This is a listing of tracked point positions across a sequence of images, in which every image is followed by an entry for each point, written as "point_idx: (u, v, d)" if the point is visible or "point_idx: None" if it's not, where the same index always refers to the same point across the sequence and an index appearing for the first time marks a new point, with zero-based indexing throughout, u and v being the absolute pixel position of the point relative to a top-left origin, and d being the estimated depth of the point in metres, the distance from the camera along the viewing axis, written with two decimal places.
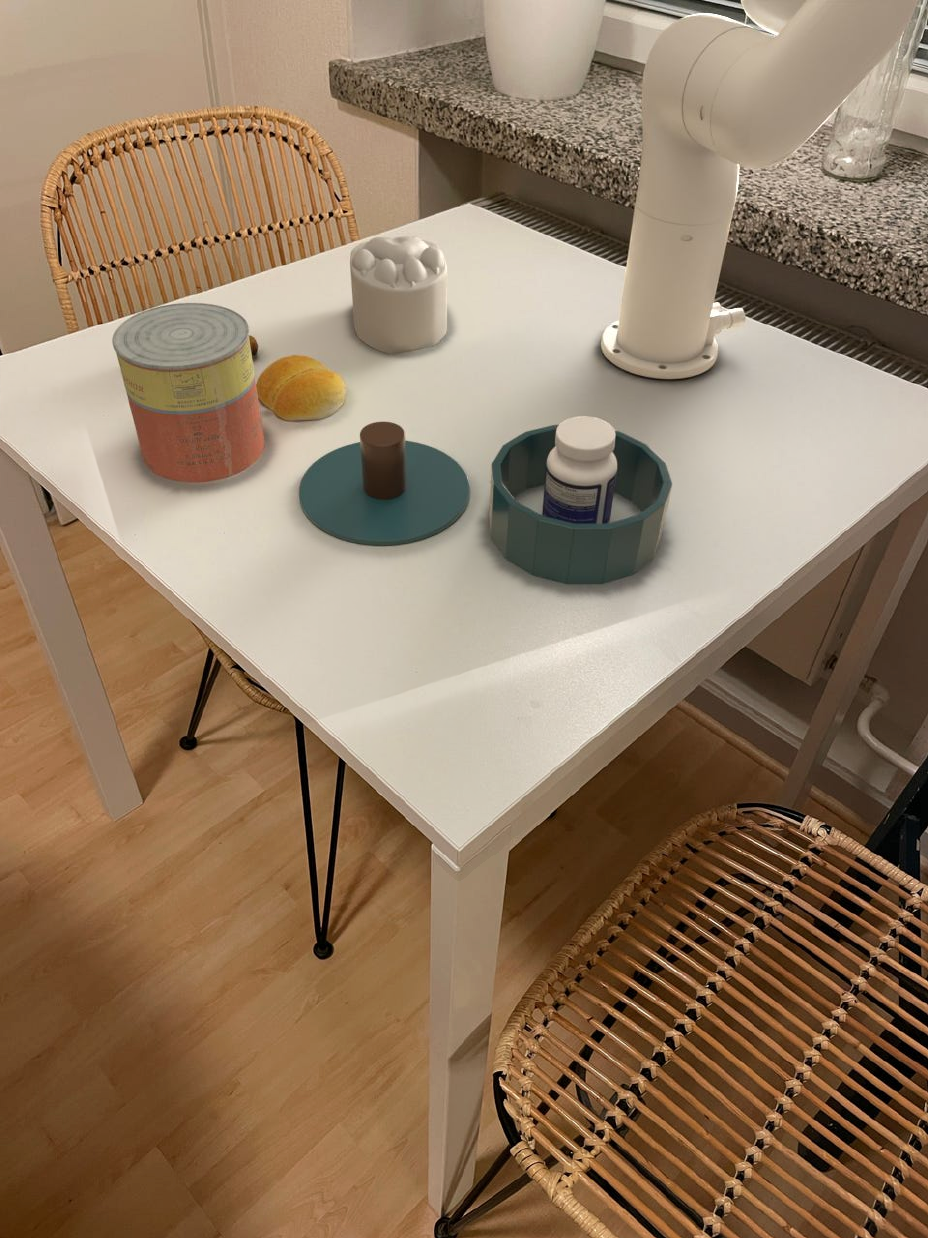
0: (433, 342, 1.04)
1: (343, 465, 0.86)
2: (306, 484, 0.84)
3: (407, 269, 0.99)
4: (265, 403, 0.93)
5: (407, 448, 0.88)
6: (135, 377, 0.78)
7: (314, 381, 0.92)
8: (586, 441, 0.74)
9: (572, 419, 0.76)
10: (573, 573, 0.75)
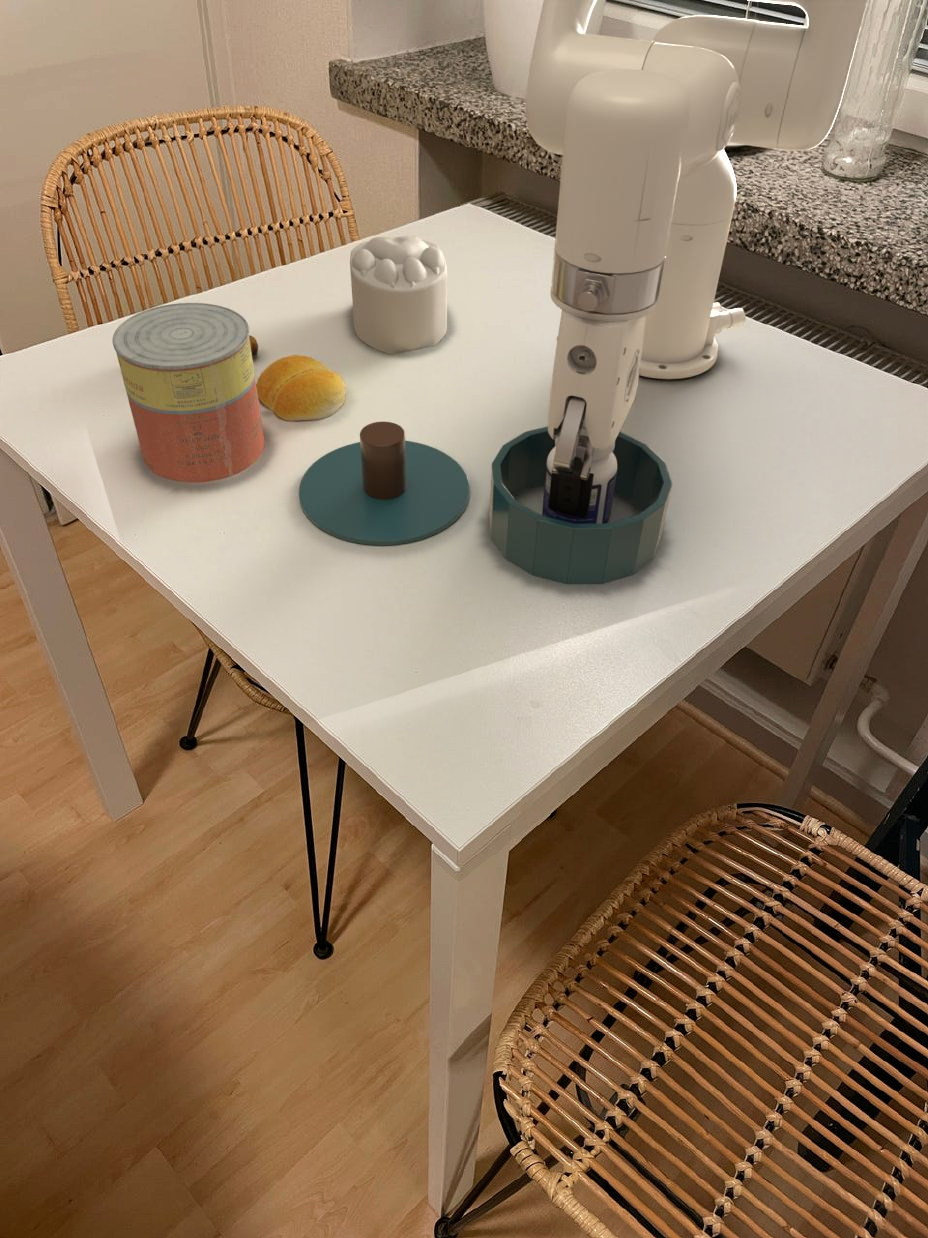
0: (433, 342, 1.04)
1: (343, 465, 0.86)
2: (306, 484, 0.84)
3: (407, 269, 0.99)
4: (265, 403, 0.93)
5: (407, 448, 0.88)
6: (135, 377, 0.78)
7: (314, 381, 0.92)
8: None
9: None
10: (573, 573, 0.75)
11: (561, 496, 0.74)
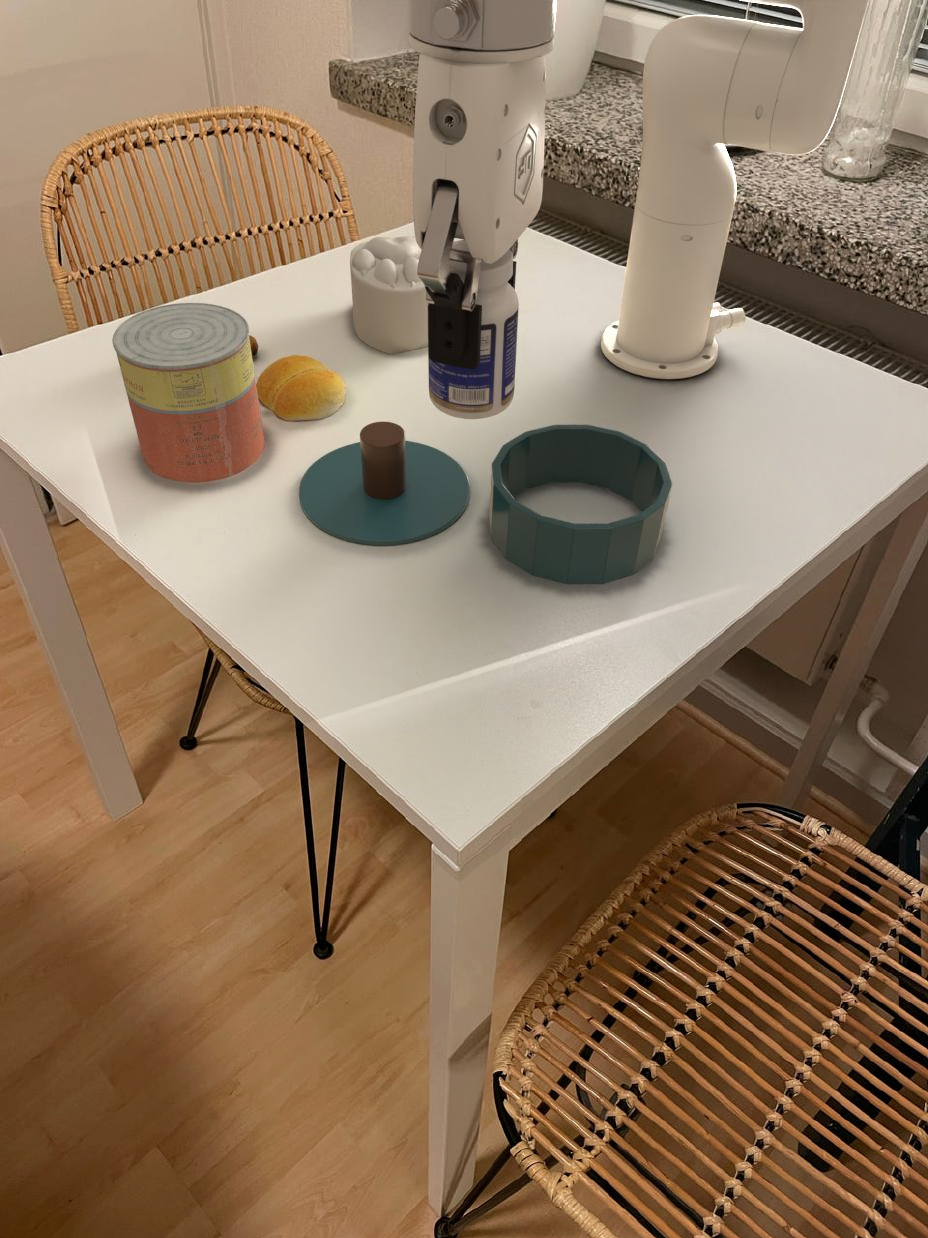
0: None
1: (343, 465, 0.86)
2: (306, 484, 0.84)
3: (407, 269, 0.99)
4: (265, 403, 0.93)
5: (407, 448, 0.88)
6: (135, 377, 0.78)
7: (314, 381, 0.92)
8: None
9: (459, 242, 0.58)
10: (573, 573, 0.75)
11: (442, 337, 0.57)
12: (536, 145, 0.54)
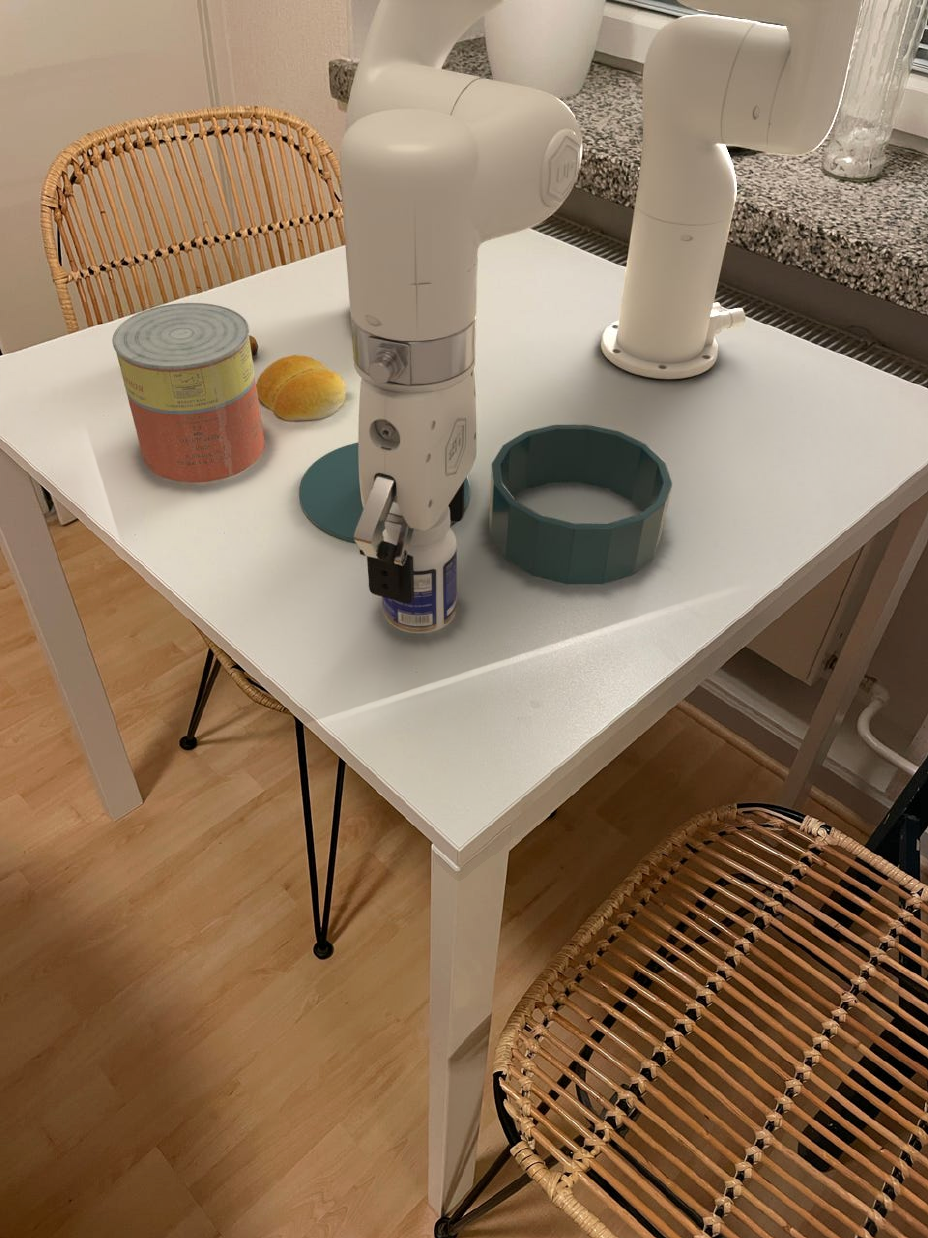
0: None
1: (343, 465, 0.86)
2: (306, 484, 0.84)
3: None
4: (265, 403, 0.93)
5: None
6: (135, 377, 0.78)
7: (314, 381, 0.92)
8: None
9: None
10: (573, 573, 0.75)
11: (379, 581, 0.65)
12: (466, 425, 0.63)
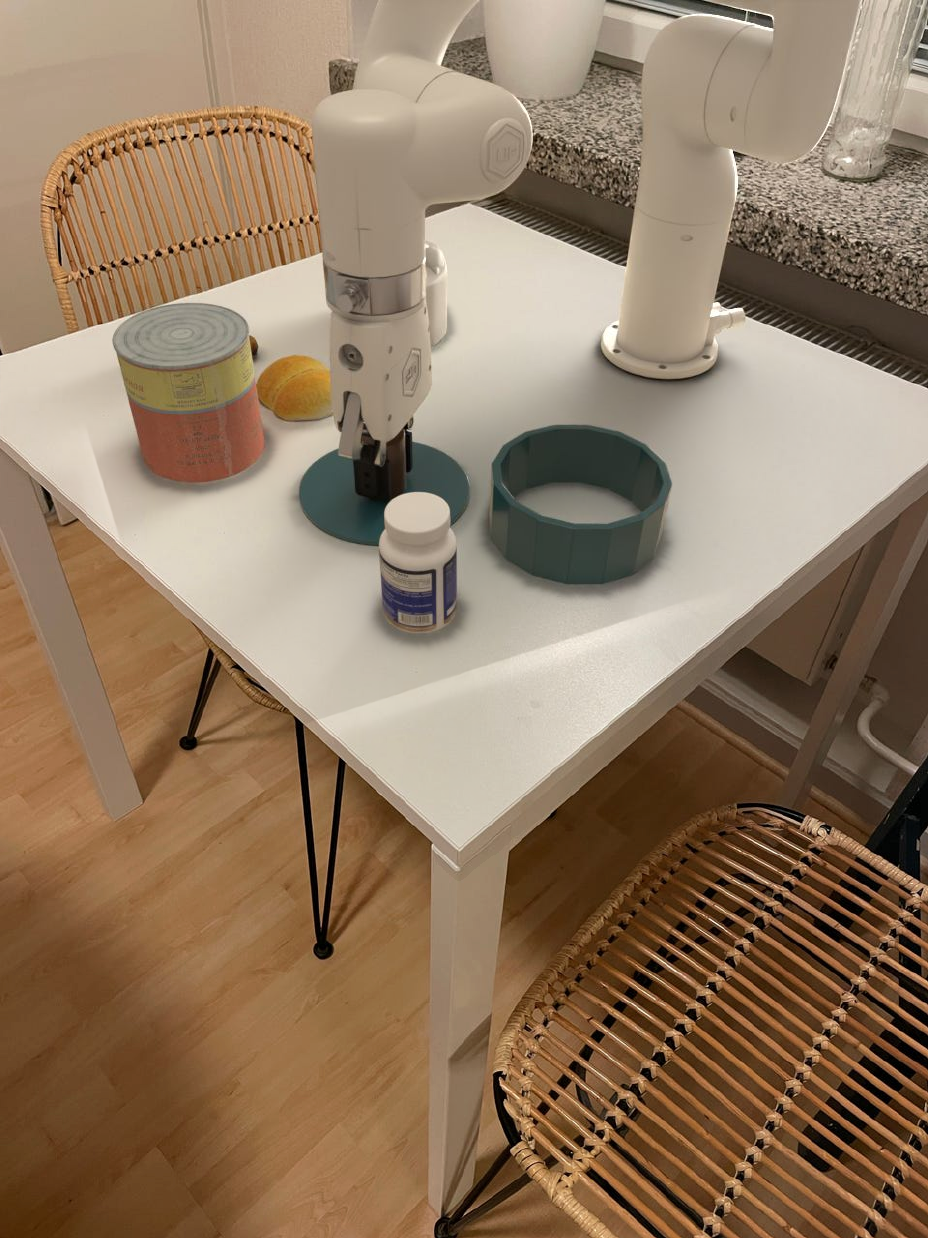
0: (433, 342, 1.04)
1: (343, 465, 0.86)
2: (306, 484, 0.84)
3: None
4: (265, 403, 0.93)
5: None
6: (135, 377, 0.78)
7: (314, 381, 0.92)
8: (415, 523, 0.66)
9: (405, 496, 0.68)
10: (573, 573, 0.75)
11: (363, 482, 0.80)
12: (421, 355, 0.76)
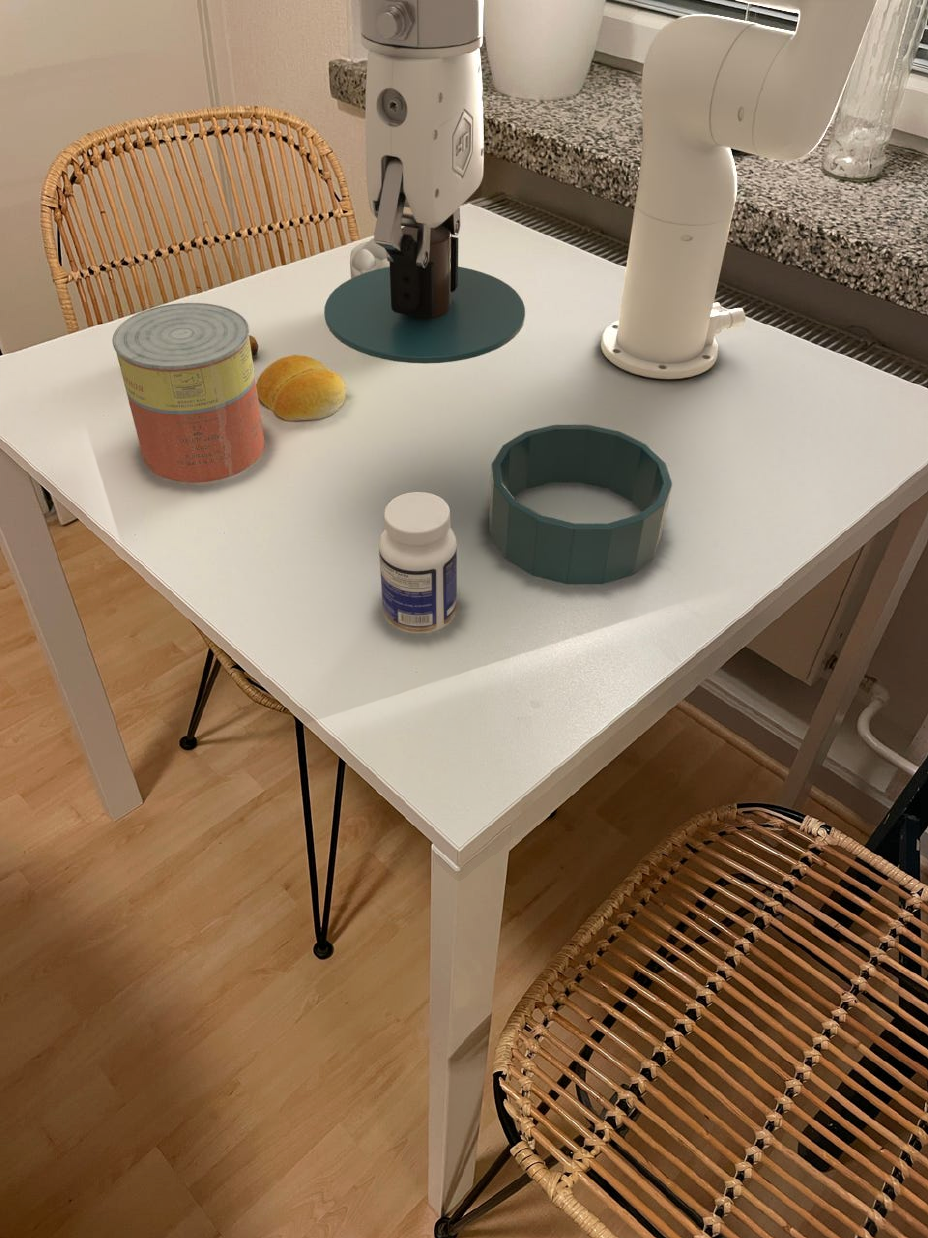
0: None
1: (375, 286, 0.73)
2: (332, 304, 0.71)
3: None
4: (265, 403, 0.93)
5: None
6: (135, 377, 0.78)
7: (314, 381, 0.92)
8: (415, 523, 0.66)
9: (405, 496, 0.68)
10: (573, 573, 0.75)
11: (401, 290, 0.67)
12: (473, 127, 0.63)
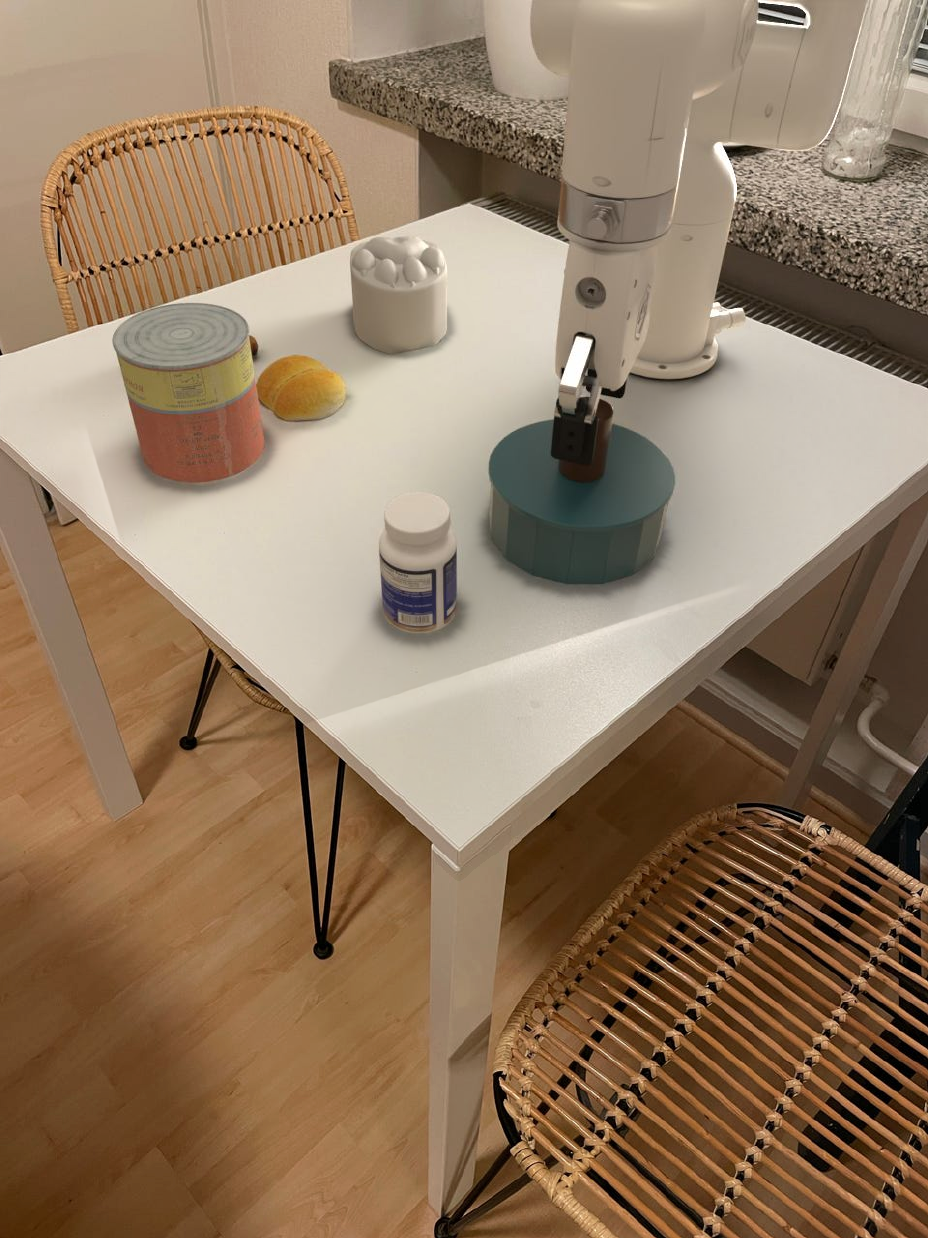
0: (433, 342, 1.04)
1: (531, 445, 0.79)
2: (495, 466, 0.77)
3: (407, 269, 0.99)
4: (265, 403, 0.93)
5: None
6: (135, 377, 0.78)
7: (314, 381, 0.92)
8: (415, 523, 0.66)
9: (405, 496, 0.68)
10: (573, 573, 0.75)
11: (565, 442, 0.69)
12: (649, 293, 0.68)
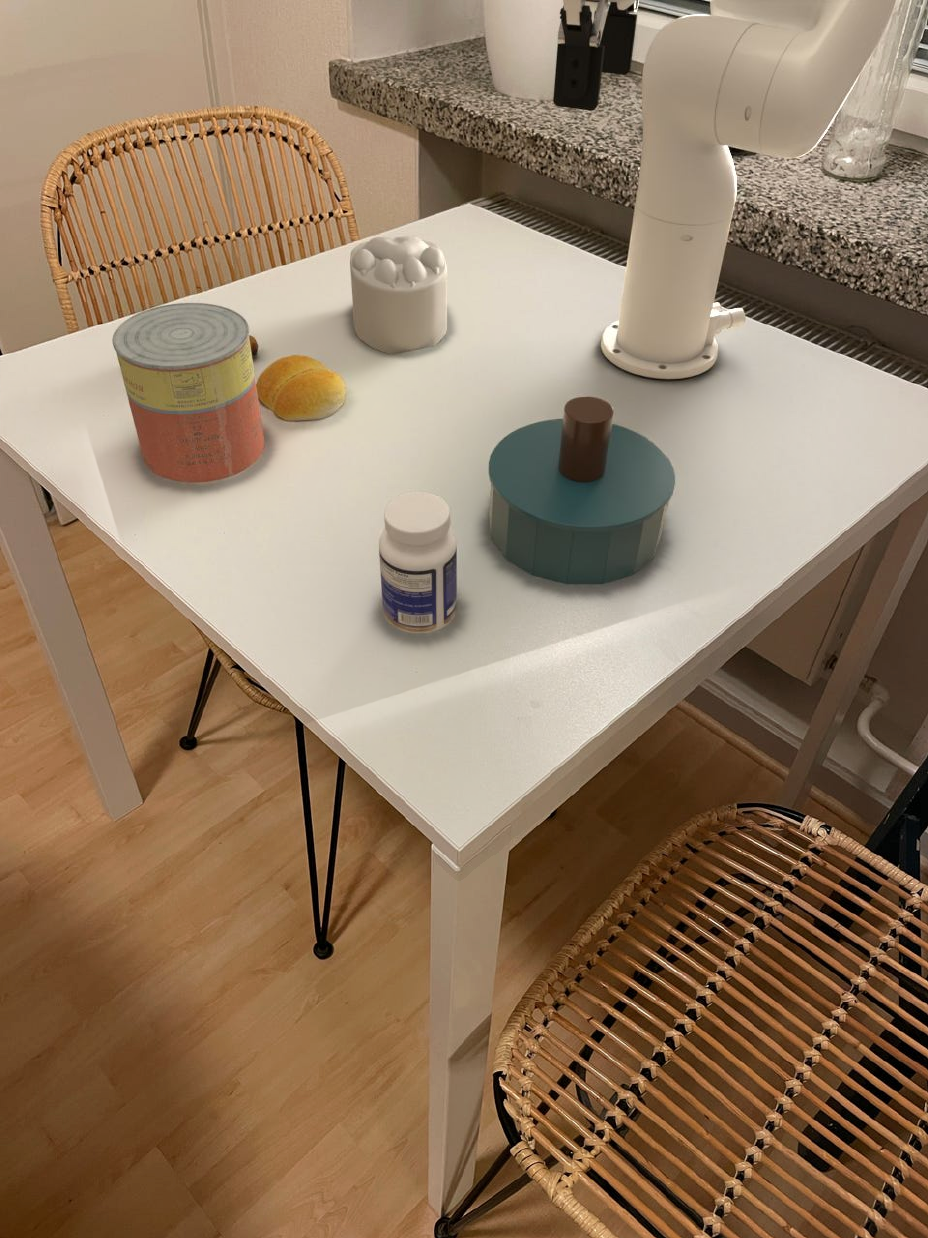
0: (433, 342, 1.04)
1: (531, 445, 0.79)
2: (495, 466, 0.77)
3: (407, 269, 0.99)
4: (265, 403, 0.93)
5: None
6: (135, 377, 0.78)
7: (314, 381, 0.92)
8: (415, 523, 0.66)
9: (405, 496, 0.68)
10: (573, 573, 0.75)
11: (568, 77, 0.66)
12: None
